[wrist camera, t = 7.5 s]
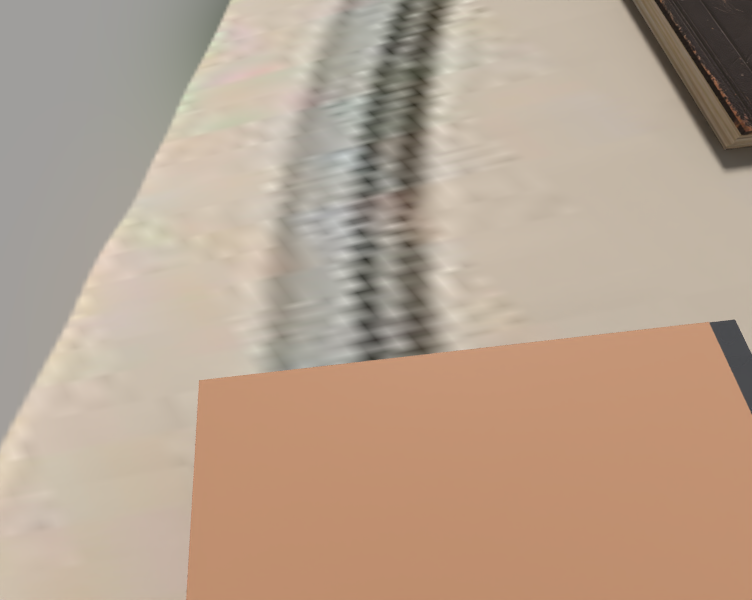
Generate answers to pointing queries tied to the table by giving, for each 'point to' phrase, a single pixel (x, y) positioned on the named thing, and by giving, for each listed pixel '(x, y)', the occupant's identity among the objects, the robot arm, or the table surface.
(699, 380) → the peg
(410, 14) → the table surface
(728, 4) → the hardcover book
